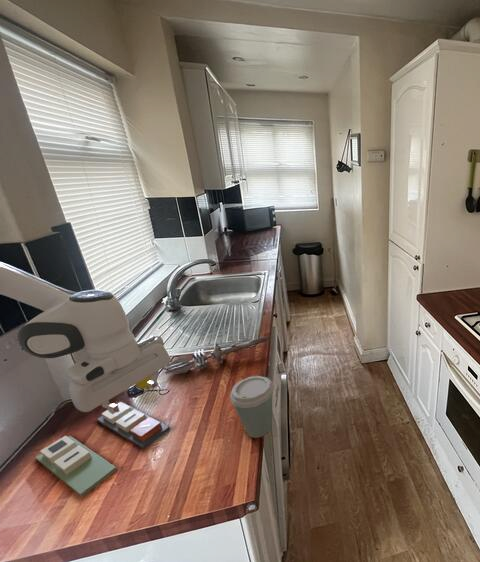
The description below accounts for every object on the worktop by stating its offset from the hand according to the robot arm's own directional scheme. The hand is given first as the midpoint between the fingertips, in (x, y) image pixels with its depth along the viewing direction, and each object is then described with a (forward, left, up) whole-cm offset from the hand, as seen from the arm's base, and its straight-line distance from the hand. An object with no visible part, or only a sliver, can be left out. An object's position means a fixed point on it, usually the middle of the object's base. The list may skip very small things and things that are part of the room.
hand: (135, 398), depth 79 cm
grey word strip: (-7, 0, -12) cm, 14 cm away
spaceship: (-8, +30, -12) cm, 33 cm away
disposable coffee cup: (+27, +14, -12) cm, 33 cm away
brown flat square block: (0, 0, -11) cm, 11 cm away
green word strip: (-7, -13, -12) cm, 19 cm away
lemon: (-19, +11, -12) cm, 25 cm away
